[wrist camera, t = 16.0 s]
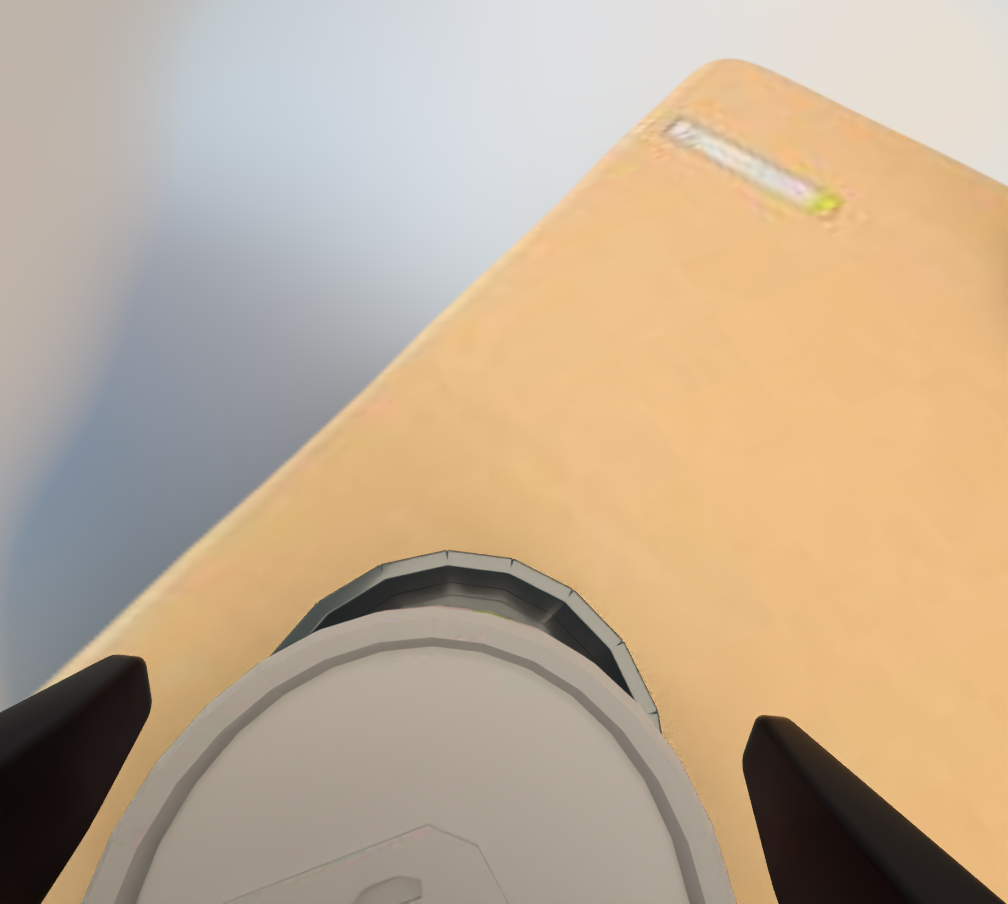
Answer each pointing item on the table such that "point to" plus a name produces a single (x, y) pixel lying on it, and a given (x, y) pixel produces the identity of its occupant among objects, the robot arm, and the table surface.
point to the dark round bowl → (484, 606)
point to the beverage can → (417, 781)
